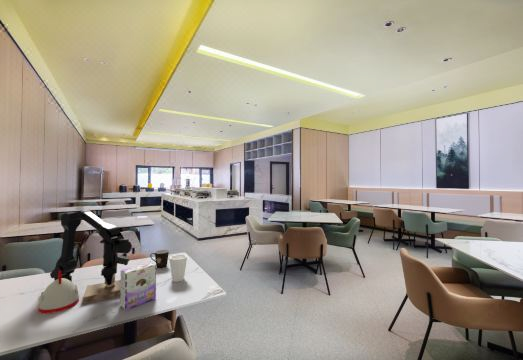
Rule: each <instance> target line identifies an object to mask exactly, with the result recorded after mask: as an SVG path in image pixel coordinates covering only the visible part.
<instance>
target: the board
mask: <svg viewBox="0 0 523 360" xmlns="http://www.w3.org/2000/svg"><path fill="white" fill-rule="evenodd" d="M120 286H121V279H119V280H118V279H117V280H115V282H114V287H113V288H109V289H106V284H105V282H101V283H95V284H89V285H86V289H85V291H84V294H83V297H82V304H90V303H93V302H98V301H104V300H109V299H113V298H119V297H120Z"/></svg>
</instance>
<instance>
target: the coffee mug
mask: <svg viewBox="0 0 523 360" xmlns="http://www.w3.org/2000/svg"><path fill="white" fill-rule="evenodd" d="M169 252H170V251H169V249H160V250H159V249H158V250H155V251H154V252H152V253H150V254H149V257H150V259H151V260H152V261H153V262H155V265H156V269H159V270H160V269H165V268H167V267H168V262H169V261H168V260H169ZM152 255H154V258H155V259H154V258H153V256H152Z"/></svg>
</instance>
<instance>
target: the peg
mask: <svg viewBox="0 0 523 360" xmlns="http://www.w3.org/2000/svg"><path fill="white" fill-rule="evenodd" d="M115 281H116V274H114V275H113V278H112V282H111V285H108V284H107V282H106V280H105V279H104V283H105V284H106V289H109V288H113V287H114V282H115Z"/></svg>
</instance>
